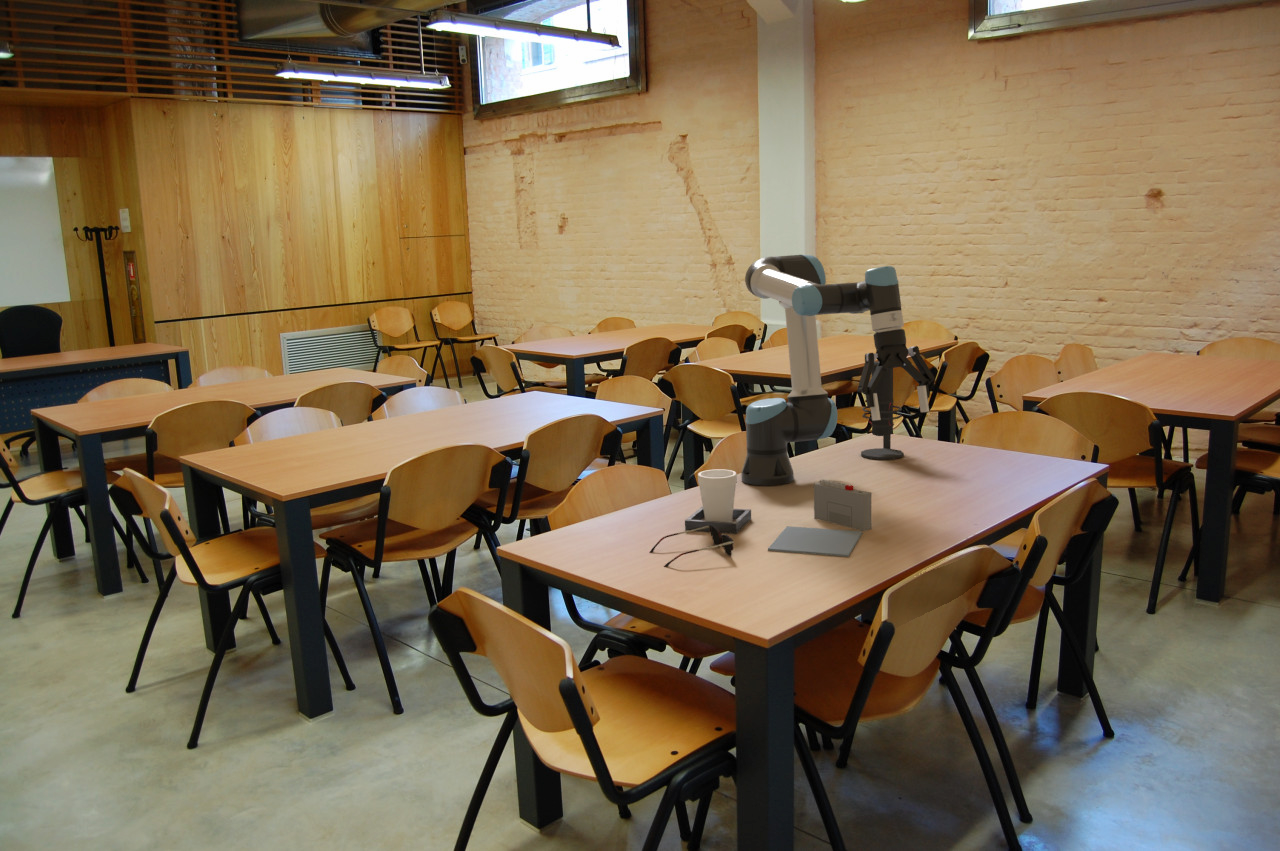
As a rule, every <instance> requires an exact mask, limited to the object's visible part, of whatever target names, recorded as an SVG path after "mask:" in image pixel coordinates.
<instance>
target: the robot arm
mask: <svg viewBox="0 0 1280 851" xmlns="http://www.w3.org/2000/svg"><path fill="white" fill-rule="evenodd" d="M826 280H827V279H826V272H825V268H824V266H823V264H822V262H821V260H819V258H818V257H816V256H815V255H811V254H795V255H794V254H791V255H779V256H778V255H777V256H776V255H775V256H765V257H764V256H763V257H762V258H758V259H757V260H755V261H754V262H752V263H751V264H750V265H749V267H748V268H747V270H746V273H745V277H744V283H745V285H746V286H745V287H746V289H747V290H748V291H749V292H750V294H752V295H753V296H755V297H757V298H760V299H762V300H763V299H764V300H765V299H773V300H775V301H778V304H779V305H780V306H781V307H783V309H784V313H785V323H786V334H787V335H786V336H787V348H788V358H789V368H790V370H789V371H790V381H791V382H790V383H791V391H790V393H789V394H788V395H787V401H786V399H784V398H782V397H774V398H763V399H760V400H759V399H758V400H756V401H753V402H751V403H750V404H748V405H747V407H746V410H745V420H744V422H745V431H746V432H745V434H746V435H745V436H746V456H745V460H744V463H743V466H742V470H741V475H740V476H741V477H740V478H741V481H742V483H744V484H747V485H753V486H765V487H766V486H767V487H768V486H770V487H771V486H779V485H786V484H790V483H791V482H793V481H794V478H795V477H794V476H795V473H794V470H793V467H792V463H791V462H790V458H789V454H788V443H797V442H807V441H818V440H821V439H827V438H829V437H830V436H832V435H833V433H834V431H835V429H836V426H837V423H838V409H837V408H838V407H837V406H836V402H835V401H834V400H833V399H832V398H829V397H828V394H829V393H828V391H826V390H825V389H824V388H823V386H822V376H821V374H822V373H821V364H820V353H819V342H818V331H817V330H818V329H817V328H818V327H817V320H816V319H817V318H816V316H821V315H831V314H832V315H833V314H848V313H849V314H854V315H855V314H863V313H865V312H868V311H869V313H870V314H869V315H870V320H871V329H872V331H873V332H875V333H873V342H874V347H875V349H876V351H875V353H874V352H868V353H865V354H864V364H863V369H862V372H861V375H860V379H859V382H858V386H857V393H861V394H863V395H865V400H866V406H868V407H870V408H869V409H870V411H871V414H870V416H871V415H872V416H871V417H872V419H871V421H872V420H881V419H880V412H879V405H878V398H877V393H874V394H873V392H874V390H875V388H876V387H877V385H878V383H879V381H880V379H881V378H882V376H883V374H884V372H885V371H886V370H887V369H890V368H893V369H894V368H901V369H904V371H905V372H907V373H908V374H909V375H910V376H911V377H912V378H913V379H914V380H915V381H916V382H917V383H918V385H919V386H916V389H917V396H918V404H919V411H920V413H929V412H930V408H929V407H930V406H929V399H928V398H930V388H929V385H931V384H932V382H934V381H935V380H936V377H935V376H934V375H933V372H931V369H930V368H929V366H928V364H927V363H926V362H925V360H924V359H923V358H924V357H922V355H921V352H920V347H919V346H917V345H915V346H909V347H907V337H906V330H905V329H904V328H903V327H904V316H903V310H902V302H901V294H900V286H899V285H900V284H899V279H898V275H897V271H896V268H895V266H891V265H888V266H879V267H873V268H870V269H867V270H866V271H865V273H864V280H863V281H858V282H856V281H855V282H845V283H844V282H841V283H829V284H828V283H826ZM908 356H910V357H911V360H912V361H910V360H909V359H908V358H907V357H908ZM876 361H879V363H878V365H877V367H876V370H875V372H874V374H873V376H872V369H873V366H874V362H876ZM912 362H913V363H914V364H915V366H916V367H915V366H914V364H912Z"/></svg>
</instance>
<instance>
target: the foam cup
mask: <svg viewBox="0 0 1280 851" xmlns="http://www.w3.org/2000/svg"><path fill="white" fill-rule="evenodd" d="M737 476H738V475H737V472H736V471H734V470H731V469H724V468H723V469H722V468H719V469H714V468H713V469H707V470H703V471H699V472H698V473H697V484H698V485H699V486H698V487H699V491H700V498H701V503H702V507H703V511H704V521H718V522H733V519H732V517H733V508H734V507H735V506H734V505H735V497H736V496H735V495H736V485H737V482H738V481H737V480H738V478H737Z"/></svg>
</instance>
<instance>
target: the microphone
mask: <svg viewBox="0 0 1280 851" xmlns="http://www.w3.org/2000/svg"><path fill="white" fill-rule="evenodd" d="M878 363H879V361H878V360H875V362H874V366H873V369H872V373H871V377H872V376H873V374H874V372H875V370H876V367H877V365H878ZM874 393H877V398H878V405H879V412H880V419H881V420H872V415H871V410H870V409H871V408H870V407H868V406H867V405H866V406H864V407H862V408H861V410H862V411H863V412H864V413H863V414H862V418H865V419H866V420H869V423H870V426H871V434H872V436H875V437H883V438H882V444H883V445H882V446H883V447H882V448H880V447H879V448H877V447H876V448H868V449H864V450H862V451H860V456H861V457H863V458H865V459H868V460H878V461H881V460H882V461H886V460H888V461H889V460H897V459H900V458H903V457H904V455H905V452H903V451H902V450H901V449H895V448H892V447H891V435H892V434H893V433H894V425H895V422H896V420H898V419H900V418H902V417H903V416H902V414H901V413H900V412H901V411H903V410H902V407H901V406H898V405H897V404H895V405H894V403H895V402H894V368H890V369H887V370H886V371H885V372H884V374H883V376H882V378H881V379H880V381H879V383H878V385H877V387H876V388H875V390H874V392H873V394H874ZM867 415H870V416H871V417H869V416H867ZM894 415H895V416H894ZM894 420H895V421H894Z"/></svg>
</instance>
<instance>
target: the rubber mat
mask: <svg viewBox="0 0 1280 851" xmlns="http://www.w3.org/2000/svg"><path fill="white" fill-rule="evenodd" d="M862 535H863V531H861V530H849V529H833V528H819V527H806V526H805V527H803V526H789V525H788V526H786V527H785V528H784V529H783V531H781V532H780V533H779V535H778V536H777V537H776V539H775V540H774V541H773V542H772V543H771V544H770V545H769V547H768V548H767V551H768V552H778V553H779V552H780V553H781V552H783V553H791V554H792V553H793V554H794V553H795V554H805V555H819V556H831V557H832V556H833V557H843V558H844V557H846V558H849V557H850V555H851V553H852V552H853V550H854V548H855V546H856V545H857V543H858V541H859V540H860V538H861V537H862Z"/></svg>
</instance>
